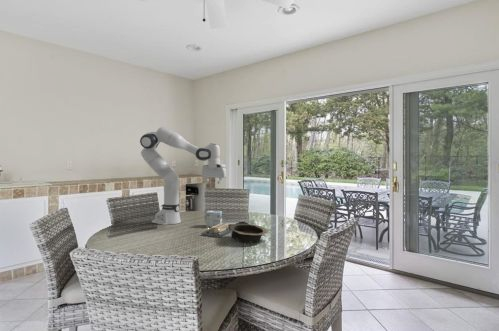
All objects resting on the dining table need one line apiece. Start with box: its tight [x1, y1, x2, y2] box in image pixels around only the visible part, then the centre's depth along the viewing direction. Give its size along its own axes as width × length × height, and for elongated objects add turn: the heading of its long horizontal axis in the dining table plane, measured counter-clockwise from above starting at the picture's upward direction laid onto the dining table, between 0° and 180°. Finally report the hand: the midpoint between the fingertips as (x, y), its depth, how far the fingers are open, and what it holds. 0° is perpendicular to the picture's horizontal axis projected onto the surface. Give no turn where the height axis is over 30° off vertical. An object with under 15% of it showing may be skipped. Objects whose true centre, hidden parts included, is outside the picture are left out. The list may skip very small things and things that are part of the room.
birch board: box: [210, 222, 228, 233], centre depth 194 cm, size 5×13×3 cm, turn 156°
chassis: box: [201, 223, 232, 239], centre depth 194 cm, size 14×21×4 cm, turn 156°
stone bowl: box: [227, 221, 269, 244], centre depth 178 cm, size 25×25×9 cm
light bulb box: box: [205, 210, 223, 228], centre depth 213 cm, size 11×7×11 cm, turn 84°
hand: (213, 183), depth 220 cm, fingers open, 8 cm apart
